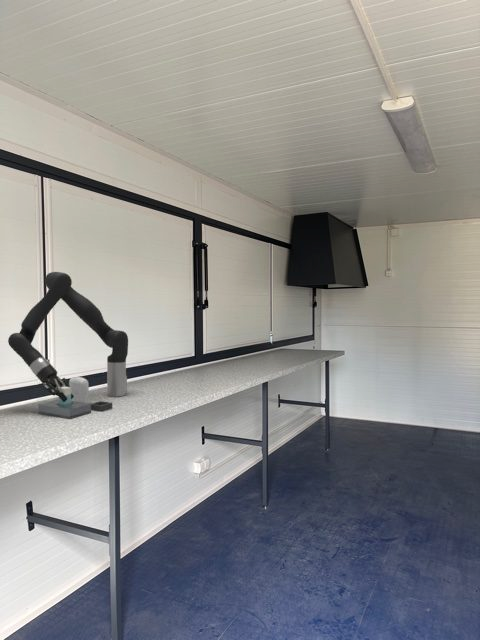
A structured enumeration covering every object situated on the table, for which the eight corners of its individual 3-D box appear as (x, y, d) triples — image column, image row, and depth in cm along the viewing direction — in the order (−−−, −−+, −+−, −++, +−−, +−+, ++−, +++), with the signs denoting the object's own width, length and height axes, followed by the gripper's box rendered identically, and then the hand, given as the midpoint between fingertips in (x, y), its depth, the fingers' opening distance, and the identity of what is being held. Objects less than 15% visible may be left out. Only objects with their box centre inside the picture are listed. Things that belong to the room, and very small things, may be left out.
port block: (60, 407, 205) (60, 399, 205) (91, 412, 197) (91, 403, 197) (38, 413, 194) (38, 404, 194) (69, 418, 186) (69, 409, 186)
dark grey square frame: (100, 406, 209) (100, 401, 208) (112, 408, 206) (112, 402, 205) (88, 409, 202) (88, 404, 202) (101, 411, 199) (101, 405, 199)
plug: (65, 407, 198) (64, 386, 197) (71, 408, 196) (71, 387, 196) (58, 408, 194) (58, 387, 194) (64, 409, 193) (64, 388, 193)
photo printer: (90, 403, 214) (90, 377, 213) (82, 405, 210) (82, 378, 210) (74, 401, 219) (74, 375, 219) (67, 402, 215) (67, 376, 215)
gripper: (38, 366, 189) (65, 396, 187) (58, 362, 203) (83, 390, 201) (27, 378, 190) (53, 408, 188) (47, 373, 204) (72, 401, 202)
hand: (69, 399), depth 195 cm, fingers closed on plug, 4 cm apart
